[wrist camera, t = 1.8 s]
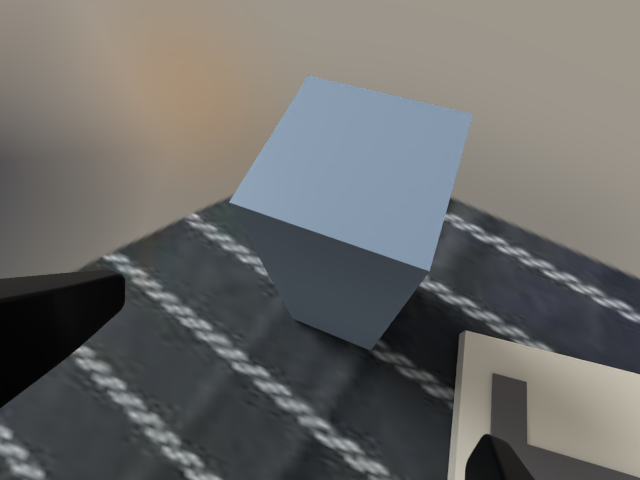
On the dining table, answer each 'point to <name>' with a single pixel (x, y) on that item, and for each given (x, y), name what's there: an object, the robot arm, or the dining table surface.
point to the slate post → (351, 203)
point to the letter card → (545, 411)
